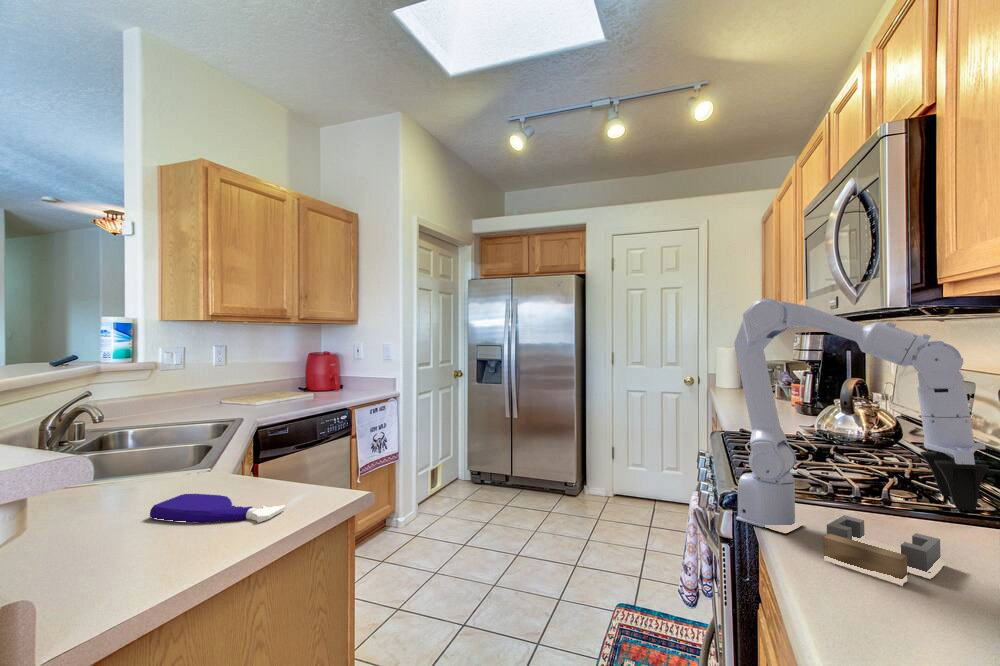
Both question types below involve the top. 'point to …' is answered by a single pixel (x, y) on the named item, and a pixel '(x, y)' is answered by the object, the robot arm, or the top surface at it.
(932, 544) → the end caps
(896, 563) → the slat
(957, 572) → the top surface
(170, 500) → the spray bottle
